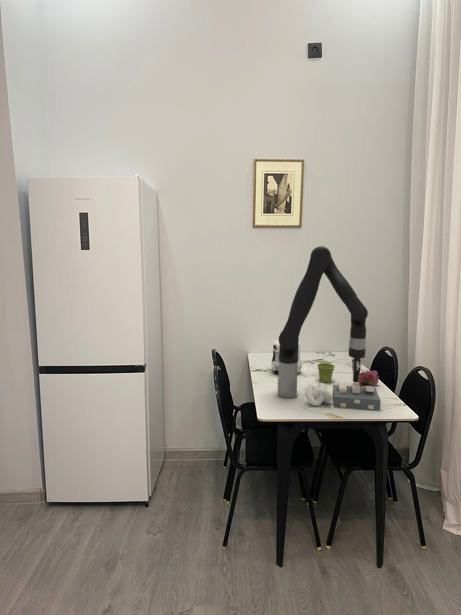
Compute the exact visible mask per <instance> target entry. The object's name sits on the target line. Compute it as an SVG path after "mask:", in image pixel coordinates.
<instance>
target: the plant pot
mask: <svg viewBox="0 0 461 615" xmlns="http://www.w3.org/2000/svg"><path fill="white" fill-rule="evenodd" d="M316 366H317V369H318V377H319V381H320V383H324V384H325V383H331V381H332V378H333V372H334V370H335V367H336V365H334V364H332V363H328V362H327V363H326V362H320V363H318V364H316Z"/></svg>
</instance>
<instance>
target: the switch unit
mask: <svg viewBox="0 0 461 615" xmlns="http://www.w3.org/2000/svg"><path fill="white" fill-rule="evenodd" d="M346 386H347V393H339V384H332V401H333V407H334V408H339V409H342V408H343V409H353V410H354V409H355V410H364V411H366V410H367V411H378V410H380V411H381V402H382V400H381V398H380V395H379V393H378V390H377V389H376V387H373V386H372V387H373V388H374V392H370V391H365V387H364V386H360V385H359V386H360V393H353V392H352V387H351V385H346Z"/></svg>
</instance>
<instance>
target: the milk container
mask: <svg viewBox="0 0 461 615" xmlns="http://www.w3.org/2000/svg"><path fill="white" fill-rule="evenodd" d="M272 347H273V348H272V359H271V363H270V364H271V370H272V371H273V372H274V373H276V374H279V350H280V344H279V338H278V339H276V340H275V339H274V341H273V346H272ZM301 369H302V360H301V341H299V345H298V370H297V374H298V373H300V371H301Z"/></svg>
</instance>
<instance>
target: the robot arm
mask: <svg viewBox="0 0 461 615" xmlns="http://www.w3.org/2000/svg"><path fill="white" fill-rule="evenodd" d="M309 256H310V257H309V262H308V265H307V268H306V272H305V273H304V275H303V278H302V279H301V281H300V283H299V285H298V288H297V289H296V292H295V295H294V297H293V300H292V303H291V305H290V310H289V314H288V317H287V321H286V323H285V325H284V327H283V329H282V331H281V332H280V334H279V336H278V339H279V344H280V350H279V373H278V376H277V397H282V398H286V399H290V398H292V399H293V398H295V397H297V395H298V373H297V370H298V345H299V342H300V334H301V329H302V327H303V324H304V323H305V321H306V319H307V317H308V315H309V314H310V311H311V309H312V307H313V305H314V302H315V300H316V297H317V294H318V290H319V286H320V282H321V279H322V278H323V275H325V276H326V278H327V279H328V281H329V282H330V284H331V286H332V288H333V289H334V292H336V295H337V296H338V297H339V298H340V300H341V302H342V303H343V304H344V305H345V307H346V308H347V310H348V312H349V313H350V331H349V340H348V341H349V342H348V356H349V357H350V358H352V359H351V364H352V365H351V369H352V370H351V371H352V374H353V375H352V383H358V375H359V374H360V373H361V369H362V367H361V366H362V360H361V359H364V358H365V357H366V349H367V339H366V337H367V325H366V321H367V320H366V319H367V317H368V314H369V311H368V309H367V307H366V306H365V305H364V304H363V302H362V301H361V300H360V298H359V296H358V295H357V293H356V292H355V290H354V289H353V287H352V286H351V284H350V283H349V281H348V280H347V279H346V278H345V276H344V275H343V274H342V272H341V271H340V269H338V267H337V265H336V263H335V261H334V259H333V257H332V253H331V251H330V249H329V248H328V247H326V246H324V245H320V246H317V247H314V249H312V251H311V252H310V255H309Z"/></svg>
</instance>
